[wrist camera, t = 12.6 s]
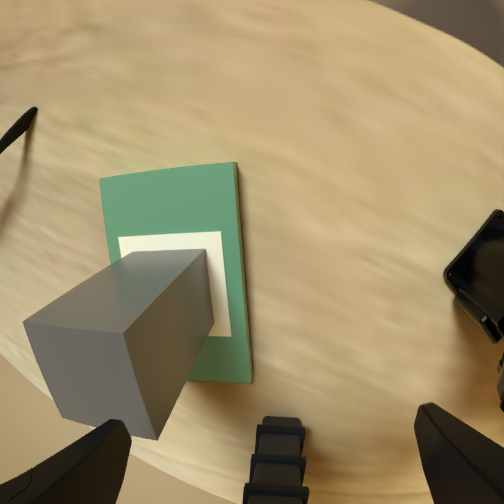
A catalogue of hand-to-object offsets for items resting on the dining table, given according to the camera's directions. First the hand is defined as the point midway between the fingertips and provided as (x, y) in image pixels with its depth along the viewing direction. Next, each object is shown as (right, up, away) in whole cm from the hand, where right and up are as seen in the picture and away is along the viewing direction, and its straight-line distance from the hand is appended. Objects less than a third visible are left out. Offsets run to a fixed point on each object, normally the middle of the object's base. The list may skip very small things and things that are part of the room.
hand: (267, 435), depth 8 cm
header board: (-5, +3, +14) cm, 15 cm away
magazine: (+2, -12, +17) cm, 21 cm away
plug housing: (-6, +3, +12) cm, 14 cm away
